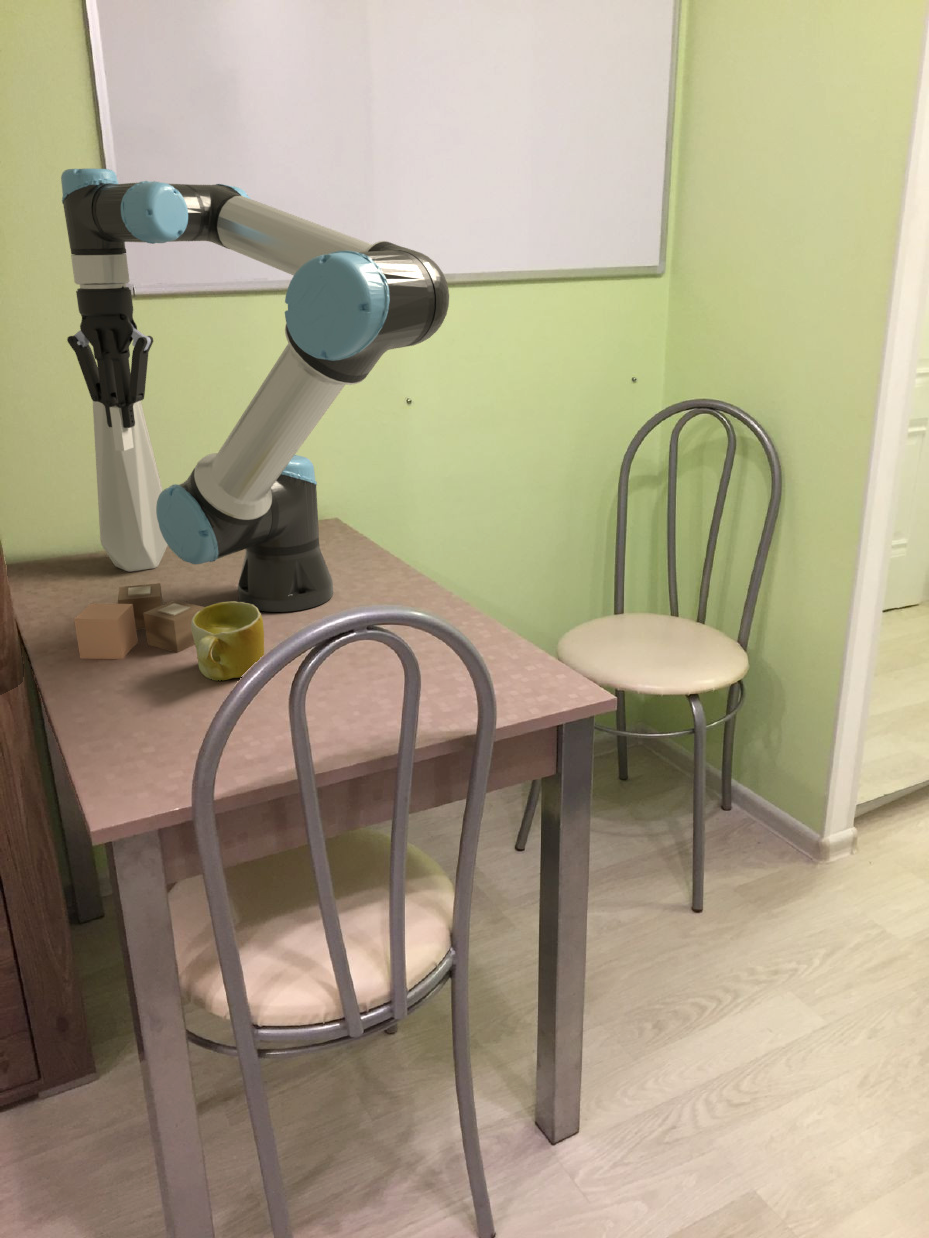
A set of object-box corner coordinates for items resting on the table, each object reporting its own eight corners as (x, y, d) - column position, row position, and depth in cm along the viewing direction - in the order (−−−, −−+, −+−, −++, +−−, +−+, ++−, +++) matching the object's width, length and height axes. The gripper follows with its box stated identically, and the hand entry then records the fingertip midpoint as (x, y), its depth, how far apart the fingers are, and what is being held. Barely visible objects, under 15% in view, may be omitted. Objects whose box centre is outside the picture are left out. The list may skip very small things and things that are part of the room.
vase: (185, 555, 184) (164, 371, 172) (159, 576, 174) (134, 381, 161) (122, 553, 186) (97, 370, 174) (92, 573, 175) (63, 380, 163)
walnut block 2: (208, 639, 147) (204, 605, 145) (177, 653, 143) (173, 619, 141) (178, 631, 150) (174, 598, 148) (147, 645, 145) (143, 611, 143)
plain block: (137, 642, 146) (132, 603, 144) (122, 659, 141) (116, 619, 138) (97, 642, 147) (91, 603, 144) (80, 658, 141) (74, 618, 139)
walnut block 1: (164, 613, 157) (160, 582, 155) (163, 627, 152) (159, 594, 150) (123, 617, 156) (119, 585, 154) (122, 631, 150) (117, 598, 148)
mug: (216, 634, 144) (220, 579, 137) (277, 664, 141) (284, 610, 135) (161, 682, 134) (162, 626, 128) (225, 715, 132) (230, 659, 126)
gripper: (157, 285, 147) (175, 445, 156) (77, 284, 150) (100, 442, 159) (129, 288, 141) (150, 456, 149) (47, 287, 143) (72, 452, 152)
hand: (124, 448), depth 154 cm, fingers closed
